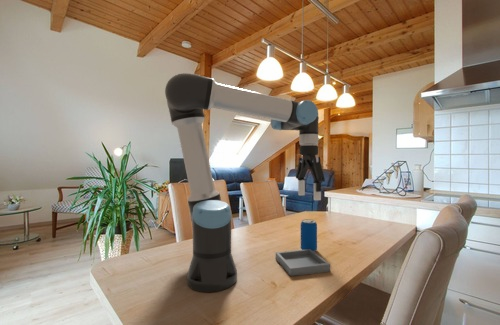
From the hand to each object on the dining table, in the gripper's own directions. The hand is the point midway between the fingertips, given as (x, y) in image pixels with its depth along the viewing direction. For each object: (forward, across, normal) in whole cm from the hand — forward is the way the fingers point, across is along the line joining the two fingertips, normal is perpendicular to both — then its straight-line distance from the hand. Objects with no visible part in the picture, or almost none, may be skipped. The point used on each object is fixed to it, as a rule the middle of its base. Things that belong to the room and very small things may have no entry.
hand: (308, 197), depth 97 cm
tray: (+22, -12, +9) cm, 26 cm away
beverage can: (+22, 0, 0) cm, 22 cm away
